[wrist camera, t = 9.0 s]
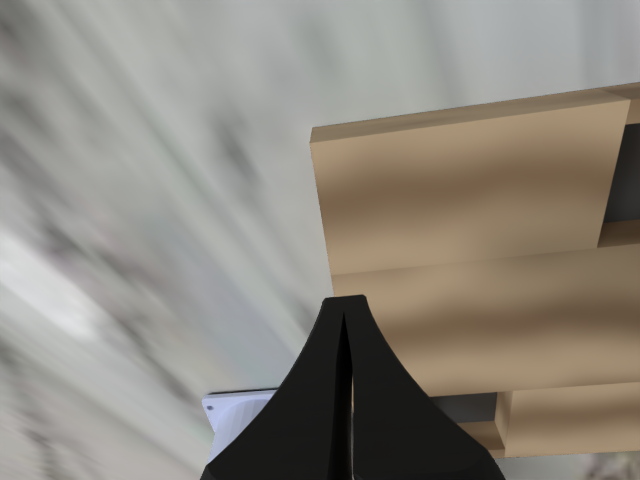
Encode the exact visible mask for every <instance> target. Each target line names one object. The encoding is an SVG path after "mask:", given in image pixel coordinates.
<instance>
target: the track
mask: <svg viewBox="0 0 640 480" xmlns="http://www.w3.org/2000/svg"><path fill="white" fill-rule="evenodd" d="M310 149H311V155H312V161H313V167H314V173H315V179H316V186H317V192H318V198H319V204H320V210H321V217H322V223H323V229H324V235H325V241H326V247H327V254H328V260H329V266H330V272H331V278H332V285H333V291H334V297H340V296H350V295H360V294H363V295H365V296H366V297H367V302H368V305H369V308H370V310H371V313H372V315H373V317H374V319H375V321H376V323H377V325H378V327H379V329H380V331H381V333H382V334H383V336H384V338H385V340H386V341H387V343H388V344H389V346H390V348H391V349H392V351H393V352H394V353H395V355H396V356H397V358H398V359H399V361H400V362H401V363H402V365H403V366H404V368H405V369H406V370H407V371H408V373H409V374H410V375H411V376H412V378H413V379H414V380H415V381H416V382H417V384H418V385H419V386H420V387H421V388H422V389H423V391H424V392H425V393H426V394H427V395H428V396H429V397H430V398H431V399H432V400H433V401H434V402H435V403H436V404H437V405H438V406H439V407H440V408H441V409H442V410H443V411H444V412H445V413H446V414H447V415H448V416H449V417H450V418H451V419H452V420H453V421H454V422H456V423H457V424H458V425H459V426H460V427H461V428H462V429H463V430H465V431H466V432H467V433H468V434H469V435H470V436H472V437H473V438H474V439H475V440H477V441H478V442H479V443H480V444H481V445H483V446H484V447H485V448H486V449H487V450H488V451H489V453H490V454H491V456H492V457H493V458H510V457H528V456H546V455H565V454H583V453H601V452H619V451H638V450H640V82H638V83H631V84H624V85H616V86H609V87H602V88H595V89H588V90H580V91H573V92H566V93H559V94H552V95H545V96H537V97H530V98H523V99H516V100H509V101H501V102H494V103H487V104H480V105H473V106H466V107H458V108H451V109H444V110H437V111H430V112H423V113H415V114H408V115H401V116H394V117H387V118H379V119H372V120H365V121H358V122H351V123H344V124H336V125H329V126H322V127H315V128H312V133H311V138H310ZM352 408H353V382H352Z"/></svg>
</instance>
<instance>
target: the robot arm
mask: <svg viewBox="0 0 640 480" xmlns="http://www.w3.org/2000/svg"><path fill="white" fill-rule="evenodd" d="M352 382H353V414H354V444H353V475H354V480H505V478H504V476H503V474H502V472H501V470H500V469H499V467H498V465H497V464H496V462H495V460H494V459H493V457H492V456H491V454H490V453H489V451H488V450H487V449H486V448H485V447H484V446H483V445H481V444H480V443H479V442H478V441H477V440H475V439H474V438H473V437H472V436H470V435H469V434H468V433H467V432H466V431H465V430H463V429H462V428H461V427H460V426H459V425H458V424H457V423H456V422H454V421H453V420H452V419H451V418H450V417H449V416H448V415H447V414H446V413H445V412H444V411H443V410H442V409H441V408H440V407H439V406H438V405H437V404H436V403H435V402H434V401H433V400H432V399H431V398H430V397H429V396H428V395H427V394H426V393H425V392H424V391H423V389H422V388H421V387H420V386H419V385H418V384H417V382H416V381H415V380H414V379H413V378H412V376H411V375H410V374H409V373H408V371H407V370H406V369H405V368H404V366H403V365H402V363H401V362H400V361H399V359H398V358H397V356H396V355H395V353H394V352H393V351H392V349H391V348H390V346H389V344H388V343H387V341H386V340H385V338H384V336H383V334H382V333H381V331H380V329H379V327H378V325H377V323H376V321H375V319H374V317H373V315H372V313H371V310H370V308H369V305H368V302H367V297H366V296H365V295H363V294H360V295H350V296H340V297H329V298H325V299H324V300H323V302H322V306H321V309H320V312H319V315H318V317H317V320H316V322H315V324H314V327H313V329H312V331H311V333H310V335H309V337H308V339H307V342H306V344H305V346H304V347H303V349H302V351H301V353H300V355H299V356H298V358H297V360H296V362H295V364H294V365H293V367H292V368H291V370H290V372H289V373H288V375H287V376H286V378H285V379H284V381H283V382H282V384H281V385H280V387H279V388H278V389H277V390H267V391H254V392H240V393H227V394H214V395H206V396H204V397H203V399H202V405H203V407H204V409H205V412H206V414H207V416H208V418H209V421H210V423H211V425H212V427H213V430H214V432H215V437H214V440H213V444H212V447H211V451H210V455H209V458H208V462H207V465H206V467H205V469H204V471H203V474H202V476H201V478H200V480H352V466H351V409H352Z"/></svg>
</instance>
